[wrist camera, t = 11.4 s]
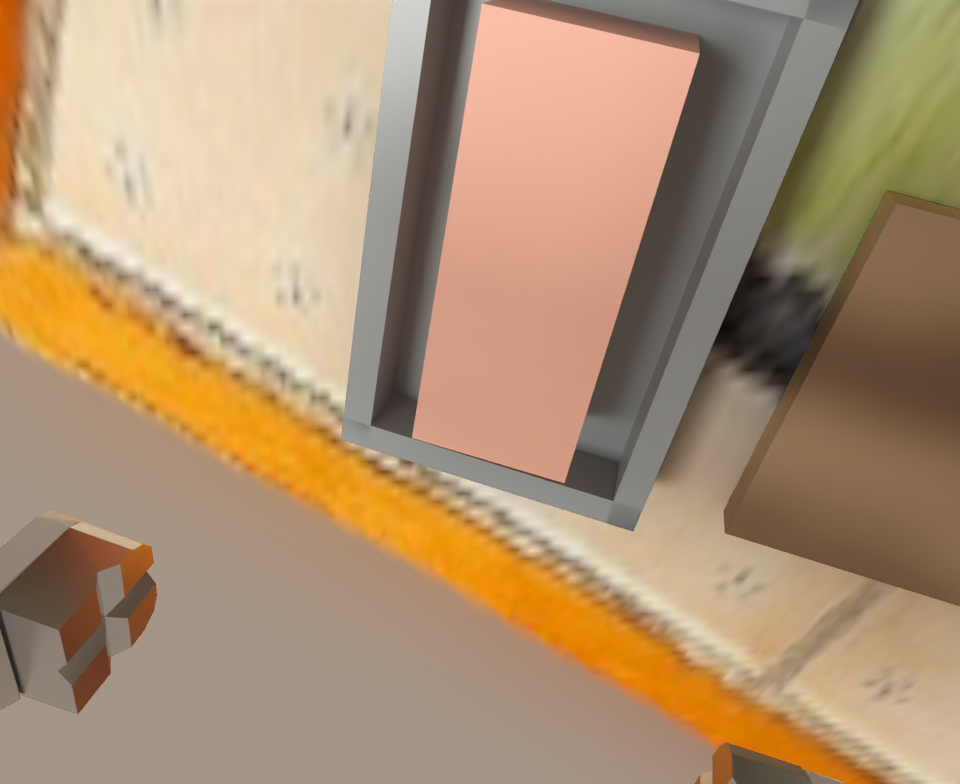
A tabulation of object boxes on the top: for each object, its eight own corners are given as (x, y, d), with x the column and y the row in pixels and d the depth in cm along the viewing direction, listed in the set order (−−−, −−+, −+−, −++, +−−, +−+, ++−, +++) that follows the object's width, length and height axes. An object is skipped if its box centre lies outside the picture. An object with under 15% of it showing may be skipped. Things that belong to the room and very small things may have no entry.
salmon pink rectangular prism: (446, 376, 22) (411, 438, 19) (516, -7, 16) (481, 3, 14) (580, 415, 21) (564, 483, 19) (697, 34, 16) (700, 53, 13)
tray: (443, -120, 16) (407, -129, 14) (844, -25, 15) (868, -21, 13) (370, 396, 23) (341, 439, 21) (638, 479, 23) (633, 531, 21)
